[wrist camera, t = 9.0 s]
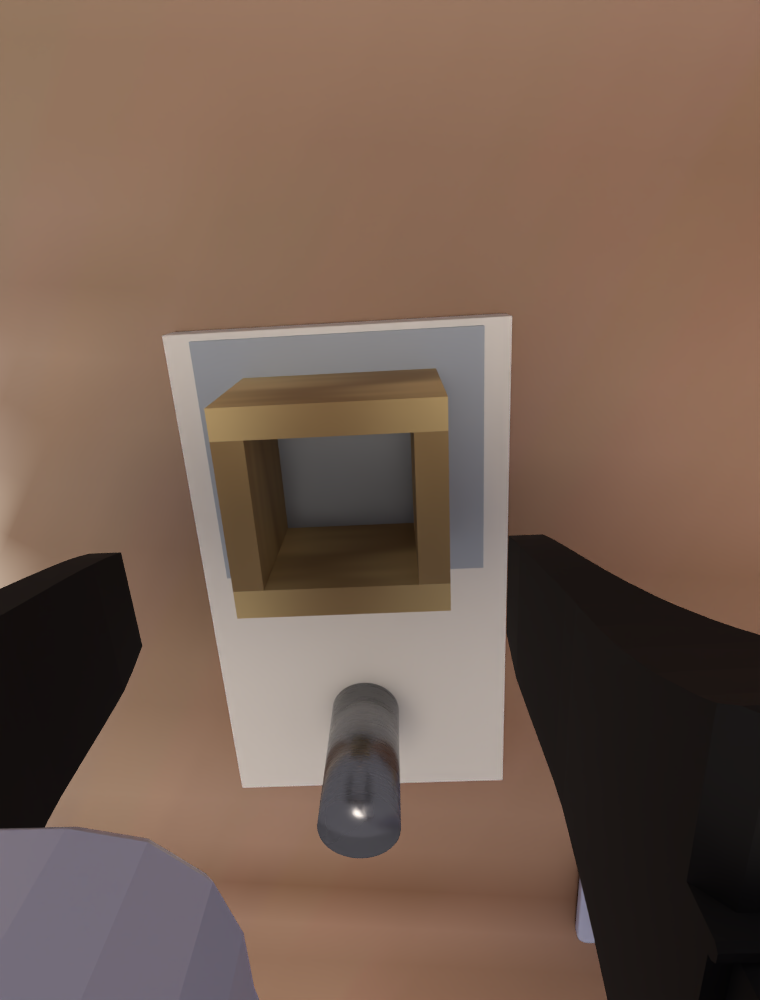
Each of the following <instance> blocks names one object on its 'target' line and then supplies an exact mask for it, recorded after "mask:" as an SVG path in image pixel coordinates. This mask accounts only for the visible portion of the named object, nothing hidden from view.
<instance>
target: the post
mask: <svg viewBox="0 0 760 1000" xmlns="http://www.w3.org/2000/svg"><path fill="white" fill-rule="evenodd" d="M317 829H318V834H319V836H320V838H321V840H322V841H323V843H324V844H325V845H326V846H327V847H328V848H330V849H331V850H333V851H334V852H336V853H338V854H340V855H343V856H347V857H351V858H369V857H374V856H377V855H380V854H382V853H384V852H386V851H387V850H389V849H390V848H391V847H392V846H393V845H394V844H395V843H396V842H397V840H398V838H399V836H400V831H401V814H400V756H399V707H398V703H397V701H396V699H395V697H394V696H393V694H392V693H391V692H390V691H388V690H387V689H386V688H384V687H382V686H380V685H377V684H373V683H357V684H353V685H350V686H348V687H346V688H345V689H343V690H342V691H341V692H340V693H339V694H338V695H337V697H336V698H335V700H334V703H333V709H332V717H331V724H330V732H329V740H328V747H327V755H326V763H325V770H324V778H323V786H322V793H321V801H320V808H319V816H318V824H317Z"/></svg>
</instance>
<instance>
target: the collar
mask: <svg viewBox="0 0 760 1000" xmlns="http://www.w3.org/2000/svg"><path fill="white" fill-rule="evenodd" d="M204 412H205V418H206V424H207V431H208V437H209V443H210V450H211V456H212V462H213V469H214V475H215V481H216V488H217V494H218V500H219V507H220V513H221V519H222V525H223V532H224V538H225V544H226V551H227V557H228V563H229V570H230V576H231V582H232V589H233V595H234V601H235V608H236V614H237V619H241V618H268V617H294V616H321V615H348V614H375V613H401V612H428V611H451V578H450V505H449V432H448V395H447V393H446V391H445V388H444V386H443V384H442V381H441V379H440V377H439V374H438V372H437V369H436V368H431V369H411V370H392V371H372V372H353V373H333V374H314V375H294V376H274V377H255V378H242V379H241V380H240V381H239V382H237V383H236V384H235V385H234V386H232V387H231V388H230V389H228V390H227V391H226V392H225V393H223V394H222V395H221V396H220V397H218V398H217V399H216V400H214V401H213V402H212V403H211V404H209V405H208V406H207V407H205V408H204ZM393 433H410V434H411V461H412V488H413V515H414V523H397V524H373V525H350V526H326V527H303V528H288V524H287V515H286V507H285V498H284V490H283V481H282V472H281V464H280V455H279V447H278V439H287V438H308V437H330V436H351V435H372V434H393Z"/></svg>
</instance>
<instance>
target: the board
mask: <svg viewBox="0 0 760 1000" xmlns="http://www.w3.org/2000/svg"><path fill="white" fill-rule="evenodd" d="M162 338H163V344H164V349H165V355H166V361H167V366H168V372H169V377H170V383H171V389H172V394H173V400H174V406H175V411H176V417H177V422H178V428H179V434H180V439H181V445H182V451H183V456H184V462H185V467H186V473H187V479H188V484H189V490H190V496H191V501H192V507H193V512H194V518H195V524H196V529H197V535H198V541H199V546H200V552H201V557H202V563H203V569H204V574H205V580H206V586H207V591H208V597H209V602H210V608H211V614H212V619H213V625H214V631H215V636H216V642H217V647H218V653H219V659H220V664H221V670H222V676H223V681H224V687H225V692H226V698H227V704H228V709H229V715H230V721H231V726H232V732H233V737H234V743H235V749H236V754H237V760H238V766H239V771H240V777H241V782H242V788H248V787H281V786H315V785H323V778H324V770H325V763H326V755H327V747H328V740H329V732H330V724H331V717H332V709H333V703H334V700H335V698H336V697H337V695H338V694H339V693H340V692H341V691H342V690H343V689H345V688H346V687H348V686H350V685H353V684H357V683H373V684H377V685H380V686H382V687H384V688H386V689H387V690H388V691H390V692H391V693H392V694H393V696H394V697H395V699H396V701H397V703H398V707H399V756H400V783H417V782H451V781H484V780H503V734H504V685H505V637H506V588H507V540H508V491H509V442H510V394H511V345H512V316H511V315H509V314H506V313H503V314H485V315H467V316H449V317H432V318H414V319H396V320H378V321H361V322H343V323H325V324H308V325H290V326H272V327H254V328H237V329H219V330H201V331H183V332H172V333H169V334H166V335H163V336H162ZM431 368H436V369H437V372H438V374H439V377H440V379H441V381H442V384H443V386H444V388H445V391H446V393H447V395H448V432H449V505H450V578H451V611H428V612H401V613H375V614H348V615H321V616H294V617H268V618H241V619H237V614H236V608H235V601H234V595H233V589H232V582H231V576H230V570H229V563H228V557H227V551H226V544H225V538H224V532H223V525H222V519H221V513H220V507H219V500H218V494H217V488H216V481H215V475H214V469H213V462H212V456H211V450H210V443H209V437H208V431H207V424H206V418H205V412H204V408H205V407H207V406H208V405H209V404H211V403H212V402H213V401H214V400H216V399H217V398H218V397H220V396H221V395H222V394H223V393H225V392H226V391H227V390H228V389H230V388H231V387H232V386H234V385H235V384H236V383H237V382H239V381H240V380H241V379H242V378H255V377H274V376H294V375H314V374H333V373H353V372H372V371H392V370H411V369H431ZM278 447H279V455H280V464H281V472H282V481H283V490H284V498H285V507H286V515H287V524H288V528H303V527H326V526H350V525H373V524H397V523H414V515H413V488H412V461H411V434H410V433H393V434H372V435H351V436H330V437H308V438H287V439H278Z"/></svg>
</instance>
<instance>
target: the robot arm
mask: <svg viewBox="0 0 760 1000" xmlns="http://www.w3.org/2000/svg"><path fill="white" fill-rule="evenodd" d="M507 637H508V642H509V647H510V651H511V656H512V661H513V665H514V670H515V674H516V678H517V681H518V684H519V687H520V690H521V693H522V695H523V698H524V701H525V704H526V706H527V709H528V712H529V715H530V717H531V720H532V723H533V726H534V728H535V731H536V734H537V736H538V739H539V742H540V745H541V747H542V750H543V753H544V755H545V758H546V761H547V764H548V766H549V769H550V772H551V774H552V777H553V780H554V783H555V786H556V789H557V792H558V795H559V799H560V802H561V805H562V808H563V812H564V816H565V820H566V824H567V828H568V832H569V836H570V840H571V844H572V848H573V852H574V856H575V860H576V864H577V868H578V872H579V876H580V879H579V891H578V903H577V915H576V926H575V929H576V933H577V937H578V939H579V940H580V941H582V942H584V943H595V945H596V949H597V954H598V959H599V963H600V968H601V972H602V977H603V981H604V986H605V990H606V995H607V999H608V1000H760V635H758V634H755V633H751V632H748V631H745V630H742V629H738V628H735V627H732V626H729V625H726V624H723V623H721V622H718V621H715V620H712V619H709V618H707V617H704V616H702V615H699V614H697V613H694V612H692V611H689V610H687V609H684V608H682V607H679V606H677V605H674V604H672V603H670V602H667V601H665V600H663V599H661V598H658V597H656V596H654V595H652V594H650V593H648V592H646V591H644V590H642V589H640V588H638V587H636V586H634V585H632V584H630V583H628V582H626V581H624V580H622V579H621V578H619V577H617V576H615V575H613V574H611V573H610V572H608V571H606V570H604V569H603V568H601V567H599V566H597V565H596V564H594V563H592V562H591V561H589V560H587V559H585V558H584V557H582V556H580V555H579V554H577V553H575V552H574V551H572V550H570V549H569V548H567V547H565V546H564V545H562V544H560V543H559V542H557V541H555V540H553V539H551V538H549V537H547V536H545V535H519V536H509V542H508V590H507ZM141 648H142V643H141V638H140V634H139V630H138V625H137V621H136V617H135V612H134V608H133V603H132V599H131V595H130V590H129V586H128V581H127V577H126V573H125V568H124V564H123V559H122V555H121V553H98V554H87V555H83V556H79V557H76V558H73V559H70V560H67V561H64V562H62V563H59V564H57V565H54V566H52V567H49V568H47V569H45V570H42V571H40V572H37V573H35V574H33V575H31V576H28V577H26V578H24V579H21V580H19V581H17V582H15V583H12V584H10V585H8V586H6V587H3V588H1V589H0V1000H259V998H258V996H257V993H256V991H255V988H254V984H253V979H252V974H251V969H250V964H249V959H248V954H247V949H246V944H245V938H244V933H243V932H242V930H241V928H240V926H239V925H238V923H237V921H236V920H235V918H234V916H233V915H232V913H231V911H230V910H229V908H228V906H227V904H226V903H225V901H224V899H223V898H222V896H221V894H220V893H219V891H218V889H217V888H216V886H215V884H214V882H213V881H212V880H211V879H210V878H209V877H208V876H207V874H206V873H204V872H202V871H201V870H199V869H198V868H196V867H194V866H193V865H191V864H189V863H188V862H186V861H184V860H183V859H181V858H179V857H178V856H176V855H174V854H173V853H171V852H170V851H168V850H166V849H165V848H163V847H161V846H160V845H158V844H156V843H155V842H153V841H151V840H150V839H147V838H141V837H135V836H129V835H123V834H118V833H112V832H106V831H100V830H94V829H88V828H82V827H49V828H45V825H46V823H47V821H48V819H49V818H50V816H51V814H52V812H53V810H54V808H55V807H56V805H57V803H58V801H59V799H60V797H61V796H62V794H63V792H64V791H65V789H66V787H67V786H68V784H69V782H70V781H71V779H72V777H73V776H74V774H75V773H76V771H77V769H78V768H79V766H80V764H81V763H82V761H83V759H84V758H85V756H86V754H87V753H88V751H89V749H90V748H91V746H92V744H93V743H94V741H95V739H96V738H97V736H98V735H99V733H100V731H101V730H102V728H103V726H104V725H105V723H106V721H107V719H108V718H109V716H110V714H111V713H112V711H113V709H114V708H115V706H116V704H117V702H118V701H119V699H120V697H121V695H122V694H123V692H124V690H125V687H126V685H127V683H128V681H129V678H130V676H131V674H132V671H133V669H134V666H135V663H136V661H137V658H138V656H139V653H140V650H141Z"/></svg>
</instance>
